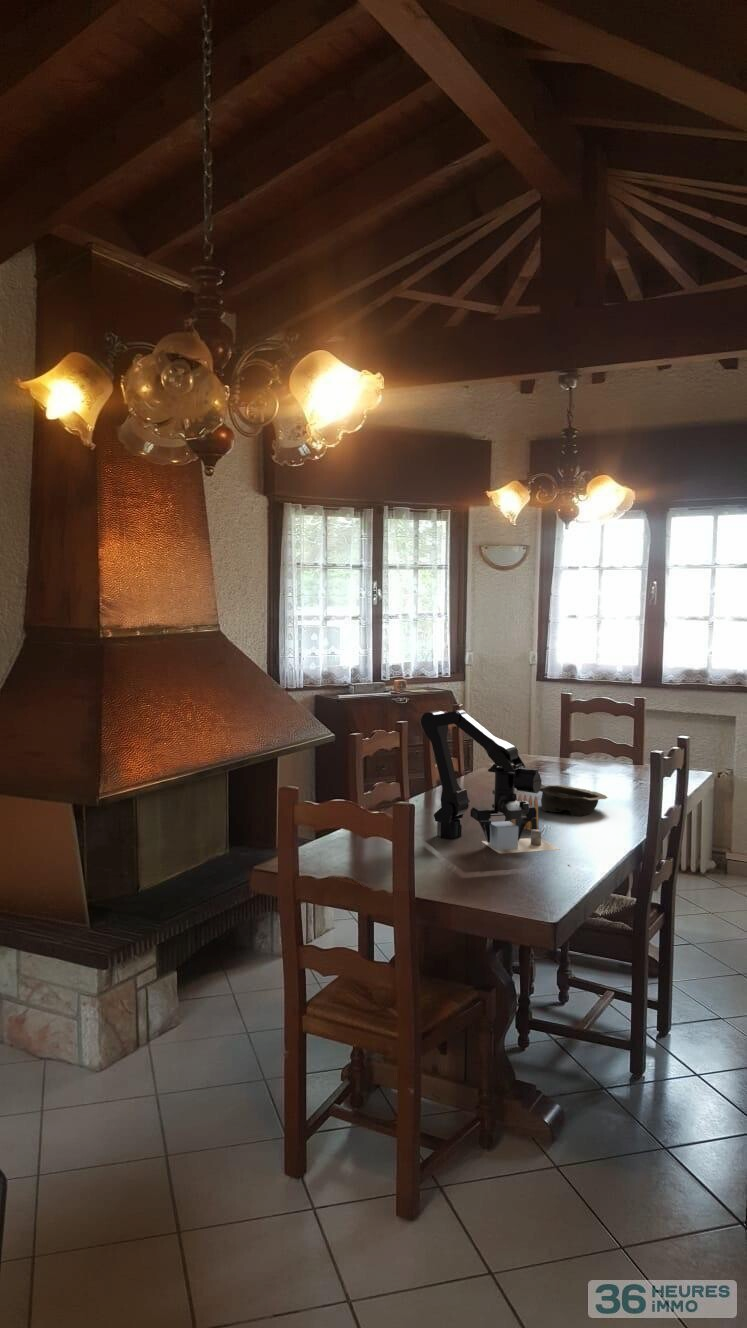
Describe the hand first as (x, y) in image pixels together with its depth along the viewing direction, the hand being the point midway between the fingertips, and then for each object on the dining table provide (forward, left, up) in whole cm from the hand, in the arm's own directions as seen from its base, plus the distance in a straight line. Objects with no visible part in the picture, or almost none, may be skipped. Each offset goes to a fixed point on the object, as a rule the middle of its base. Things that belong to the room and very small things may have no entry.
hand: (502, 841), depth 262 cm
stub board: (+5, 0, -3) cm, 6 cm away
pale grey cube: (0, 0, -1) cm, 1 cm away
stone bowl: (+43, +40, -3) cm, 59 cm away
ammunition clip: (+14, +18, -3) cm, 23 cm away
